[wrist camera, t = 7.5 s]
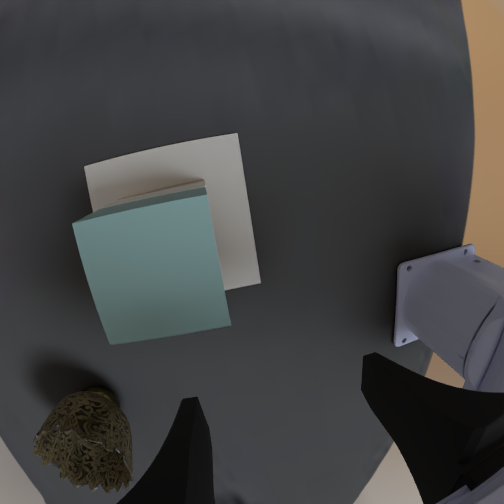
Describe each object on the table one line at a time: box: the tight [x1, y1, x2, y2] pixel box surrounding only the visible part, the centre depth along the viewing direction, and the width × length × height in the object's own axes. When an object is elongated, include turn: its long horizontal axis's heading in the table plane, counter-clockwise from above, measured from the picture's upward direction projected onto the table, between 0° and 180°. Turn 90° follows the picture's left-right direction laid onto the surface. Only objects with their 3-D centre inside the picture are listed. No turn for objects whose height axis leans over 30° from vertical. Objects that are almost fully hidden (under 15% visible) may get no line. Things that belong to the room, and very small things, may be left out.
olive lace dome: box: [33, 385, 133, 493], centre depth 19 cm, size 8×7×8 cm
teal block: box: [72, 187, 231, 345], centre depth 13 cm, size 5×5×4 cm
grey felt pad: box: [84, 133, 261, 290], centre depth 20 cm, size 10×10×1 cm
